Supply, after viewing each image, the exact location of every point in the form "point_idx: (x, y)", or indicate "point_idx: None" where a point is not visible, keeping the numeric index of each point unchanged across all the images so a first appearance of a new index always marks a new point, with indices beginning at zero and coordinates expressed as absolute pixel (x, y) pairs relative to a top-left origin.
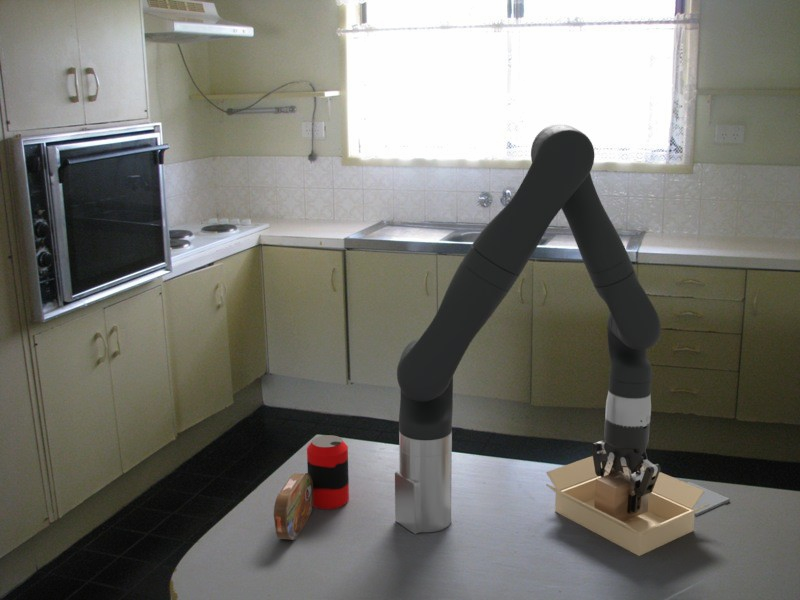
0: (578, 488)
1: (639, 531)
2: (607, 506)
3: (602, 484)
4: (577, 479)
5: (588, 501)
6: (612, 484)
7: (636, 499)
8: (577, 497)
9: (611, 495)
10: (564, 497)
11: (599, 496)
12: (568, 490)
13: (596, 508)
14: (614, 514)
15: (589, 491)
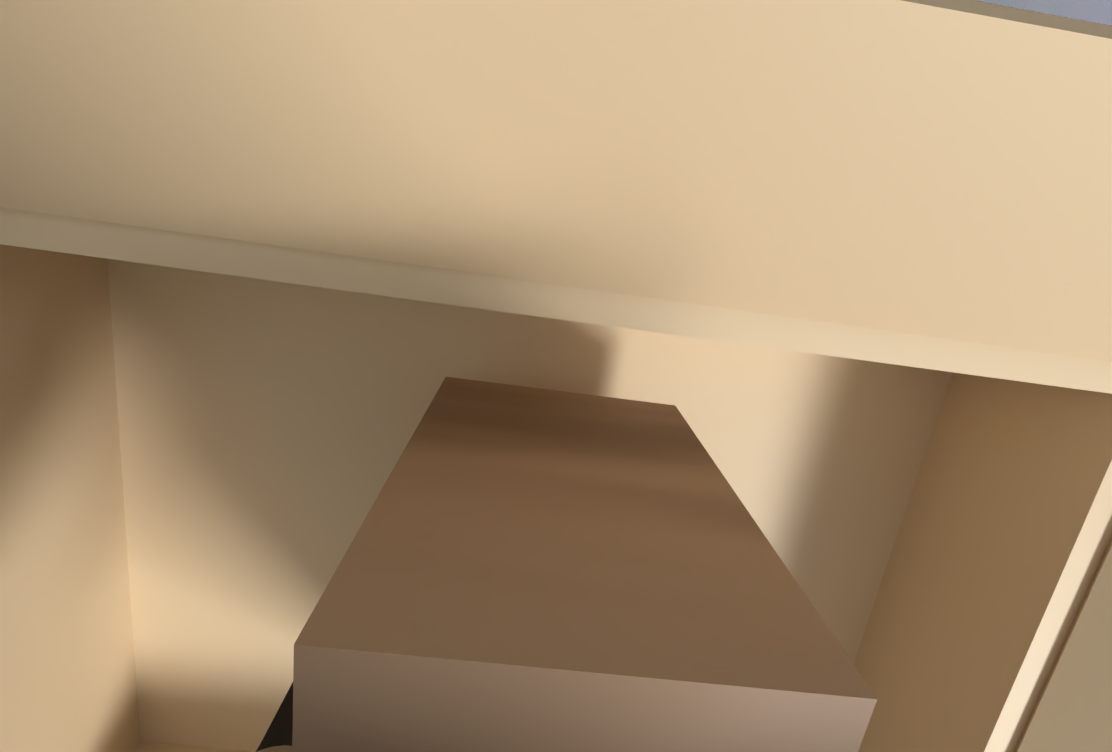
0: (1005, 622)
1: (336, 516)
2: (522, 448)
3: (677, 640)
4: (1100, 713)
5: (858, 617)
6: (473, 734)
7: (270, 731)
8: (943, 559)
9: (448, 534)
10: (1048, 346)
11: (671, 503)
12: (1076, 508)
13: (668, 434)
14: (423, 418)
15: (906, 689)
